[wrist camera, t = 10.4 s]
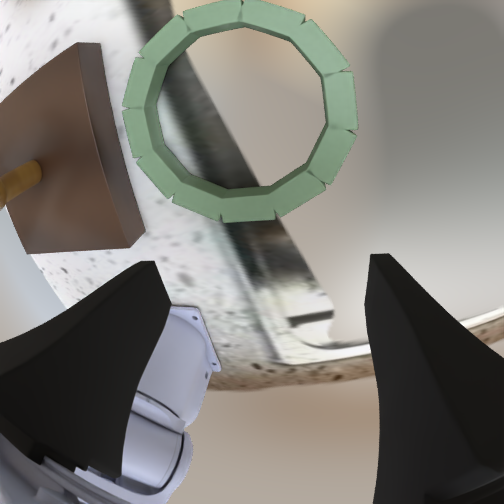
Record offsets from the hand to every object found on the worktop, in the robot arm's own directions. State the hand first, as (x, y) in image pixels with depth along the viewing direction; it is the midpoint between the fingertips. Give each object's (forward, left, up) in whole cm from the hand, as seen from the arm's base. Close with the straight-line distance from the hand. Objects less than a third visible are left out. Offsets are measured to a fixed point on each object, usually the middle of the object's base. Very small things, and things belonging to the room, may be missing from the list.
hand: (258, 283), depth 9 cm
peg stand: (+5, +18, -9) cm, 21 cm away
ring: (+5, +2, -9) cm, 11 cm away
